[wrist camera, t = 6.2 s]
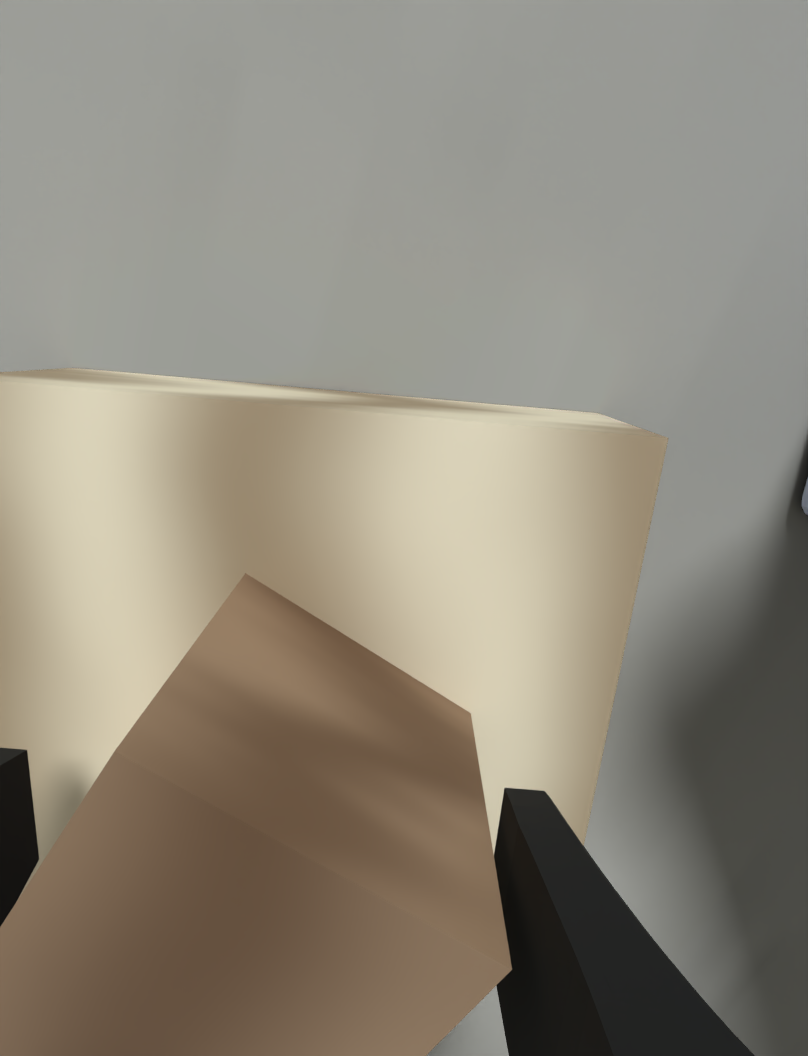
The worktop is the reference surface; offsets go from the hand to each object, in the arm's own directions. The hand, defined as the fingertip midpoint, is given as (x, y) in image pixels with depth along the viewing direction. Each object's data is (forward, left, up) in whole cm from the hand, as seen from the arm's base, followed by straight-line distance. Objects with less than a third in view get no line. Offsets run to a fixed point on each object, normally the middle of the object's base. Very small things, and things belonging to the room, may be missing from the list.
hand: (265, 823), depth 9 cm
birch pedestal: (0, 0, -7) cm, 7 cm away
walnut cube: (0, 0, -3) cm, 3 cm away
